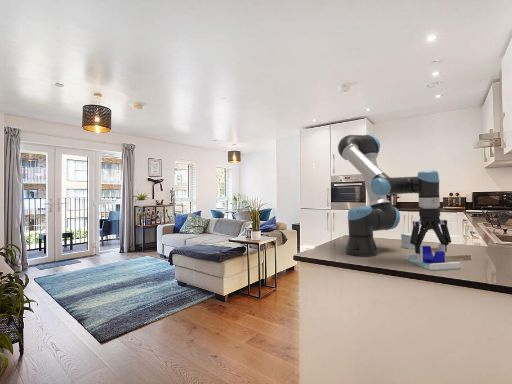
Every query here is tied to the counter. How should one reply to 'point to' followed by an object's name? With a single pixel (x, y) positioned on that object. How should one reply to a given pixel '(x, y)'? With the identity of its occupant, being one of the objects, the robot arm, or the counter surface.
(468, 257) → the upper dock
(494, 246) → the counter surface
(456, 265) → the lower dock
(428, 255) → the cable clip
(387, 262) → the counter surface
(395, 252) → the counter surface
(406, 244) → the grey block
